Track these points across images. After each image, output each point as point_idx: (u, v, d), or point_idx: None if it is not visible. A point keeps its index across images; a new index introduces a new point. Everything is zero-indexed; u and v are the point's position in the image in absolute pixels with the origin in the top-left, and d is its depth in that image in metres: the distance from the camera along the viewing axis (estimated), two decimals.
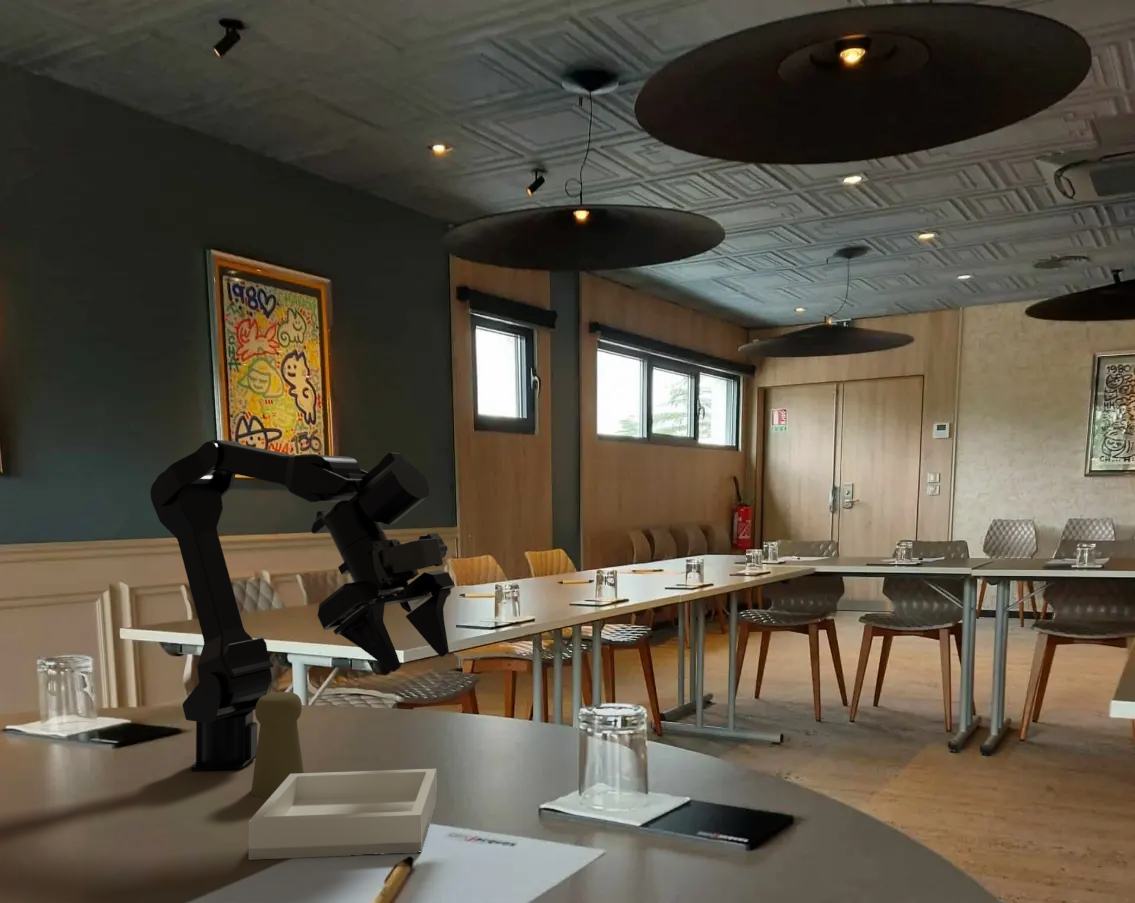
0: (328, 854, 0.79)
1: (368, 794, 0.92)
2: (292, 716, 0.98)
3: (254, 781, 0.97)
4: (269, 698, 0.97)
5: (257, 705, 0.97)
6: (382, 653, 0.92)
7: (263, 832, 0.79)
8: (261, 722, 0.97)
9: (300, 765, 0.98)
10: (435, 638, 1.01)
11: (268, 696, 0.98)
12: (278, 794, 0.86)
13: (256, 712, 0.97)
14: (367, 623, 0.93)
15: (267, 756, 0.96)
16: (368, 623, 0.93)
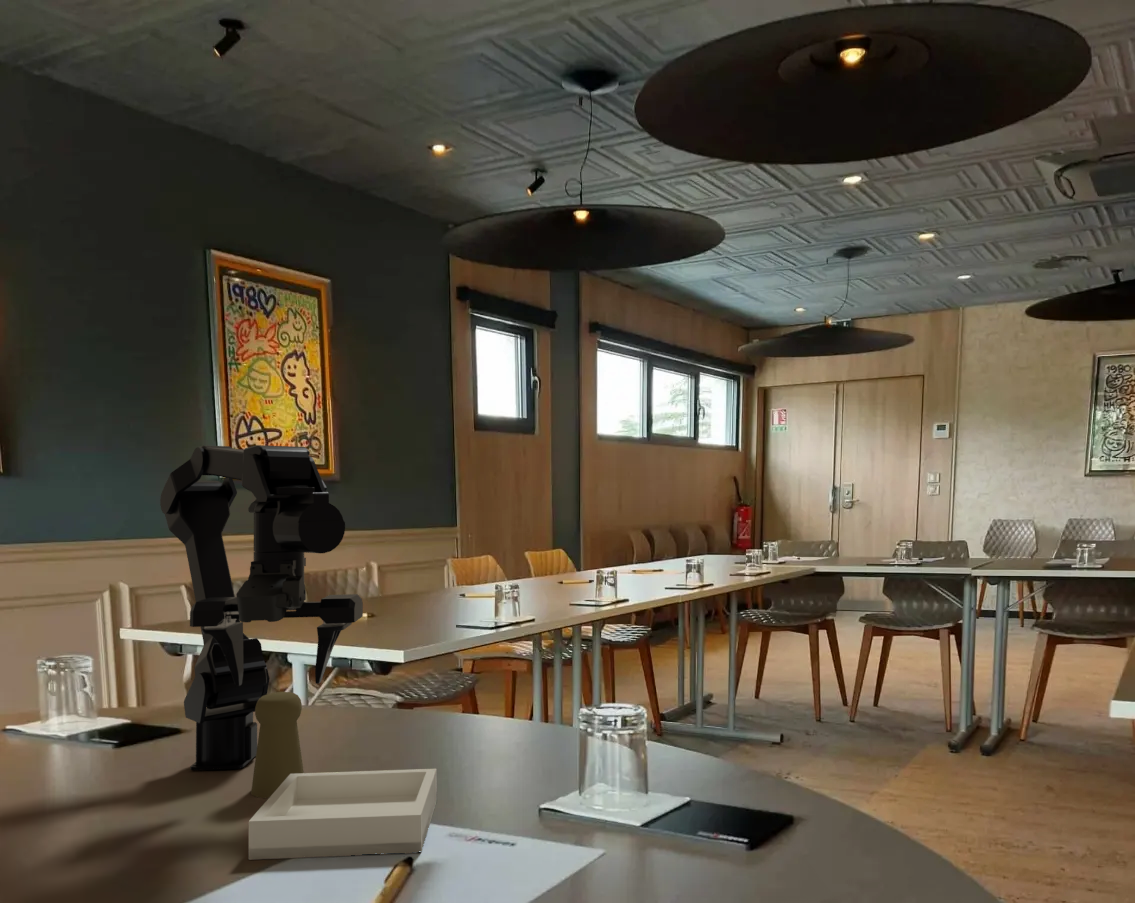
0: (328, 854, 0.79)
1: (368, 794, 0.92)
2: (292, 716, 0.98)
3: (254, 781, 0.97)
4: (269, 698, 0.97)
5: (257, 705, 0.97)
6: None
7: (263, 832, 0.79)
8: (261, 722, 0.97)
9: (300, 765, 0.98)
10: None
11: (268, 696, 0.98)
12: (278, 794, 0.86)
13: (256, 712, 0.97)
14: None
15: (267, 756, 0.96)
16: None
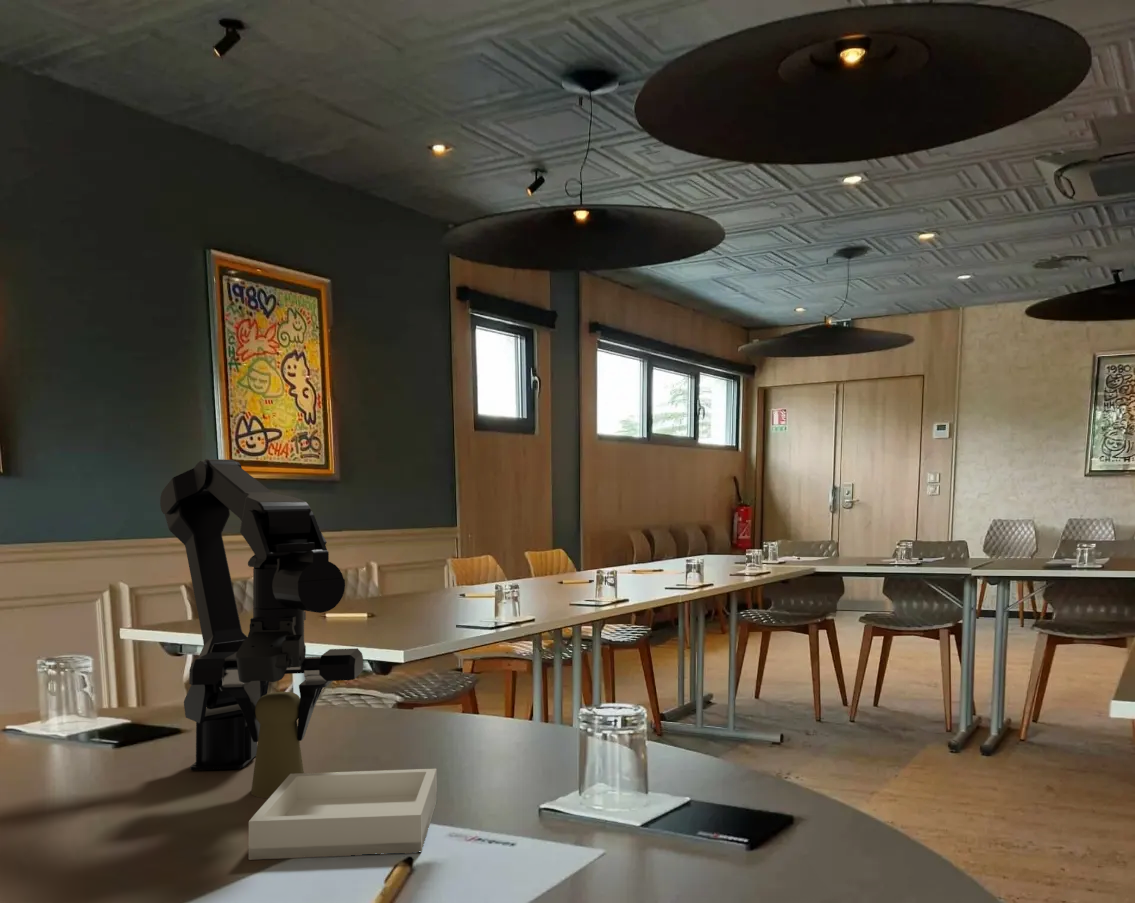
0: (328, 854, 0.79)
1: (368, 794, 0.92)
2: (292, 716, 0.98)
3: (254, 781, 0.97)
4: (269, 698, 0.97)
5: (257, 705, 0.97)
6: None
7: (263, 832, 0.79)
8: (261, 722, 0.97)
9: (300, 765, 0.98)
10: None
11: (268, 696, 0.98)
12: (278, 794, 0.86)
13: (256, 712, 0.97)
14: None
15: (267, 756, 0.96)
16: None
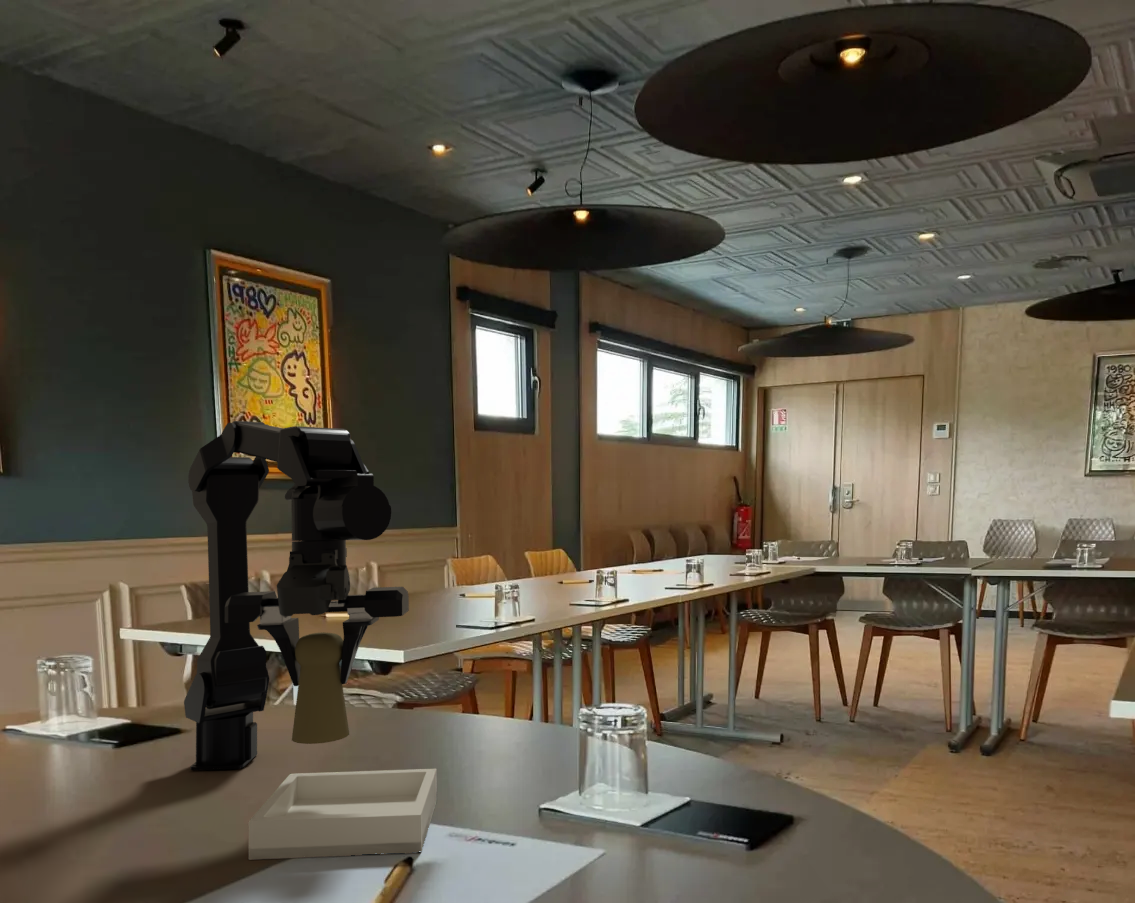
0: (328, 854, 0.79)
1: (368, 794, 0.92)
2: (335, 656, 0.91)
3: (295, 727, 0.90)
4: (310, 638, 0.90)
5: (297, 645, 0.90)
6: None
7: (263, 832, 0.79)
8: (302, 663, 0.90)
9: (344, 710, 0.91)
10: None
11: (309, 636, 0.91)
12: (278, 794, 0.86)
13: (296, 653, 0.90)
14: None
15: (309, 699, 0.89)
16: None
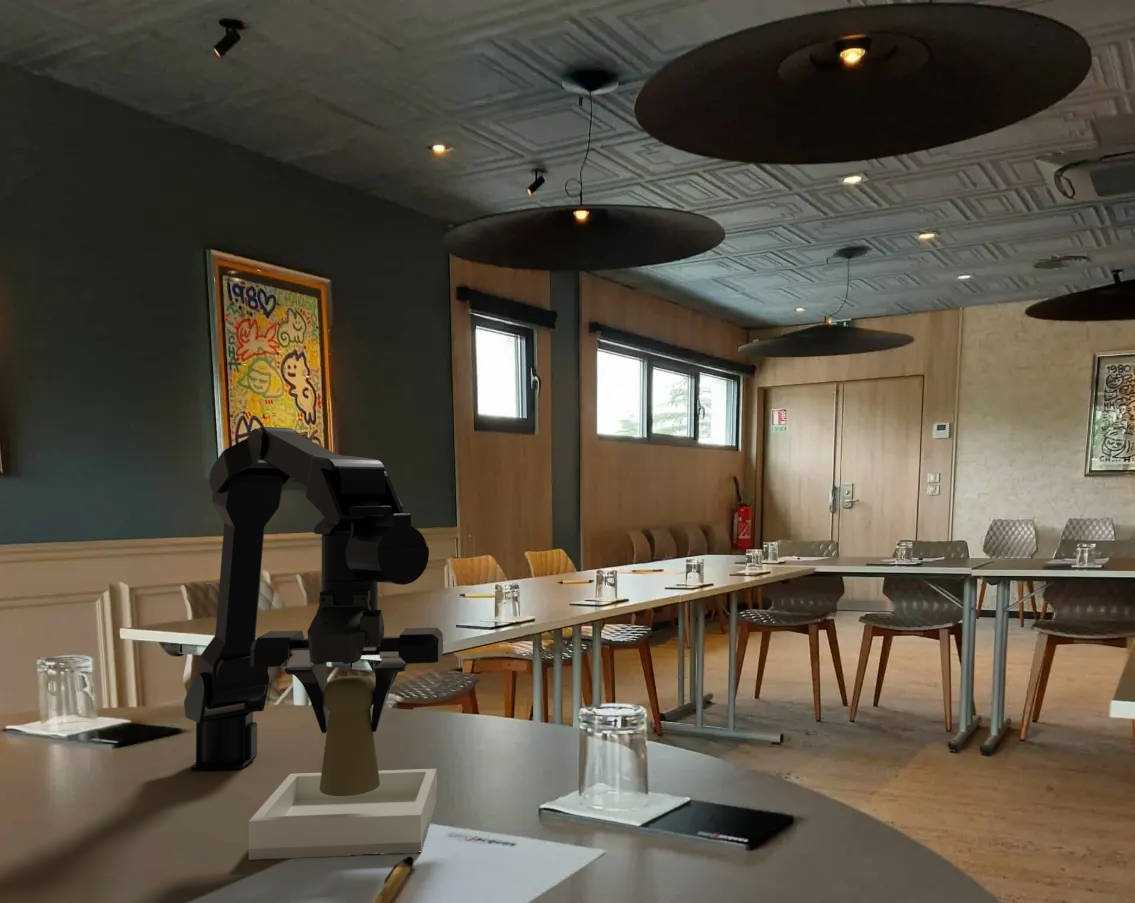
0: (328, 854, 0.79)
1: (368, 794, 0.92)
2: (366, 703, 0.85)
3: (323, 777, 0.85)
4: (340, 683, 0.85)
5: (327, 690, 0.85)
6: None
7: (263, 832, 0.79)
8: (331, 709, 0.85)
9: (375, 759, 0.86)
10: None
11: (339, 680, 0.86)
12: (278, 794, 0.86)
13: (325, 698, 0.85)
14: None
15: (339, 748, 0.84)
16: None
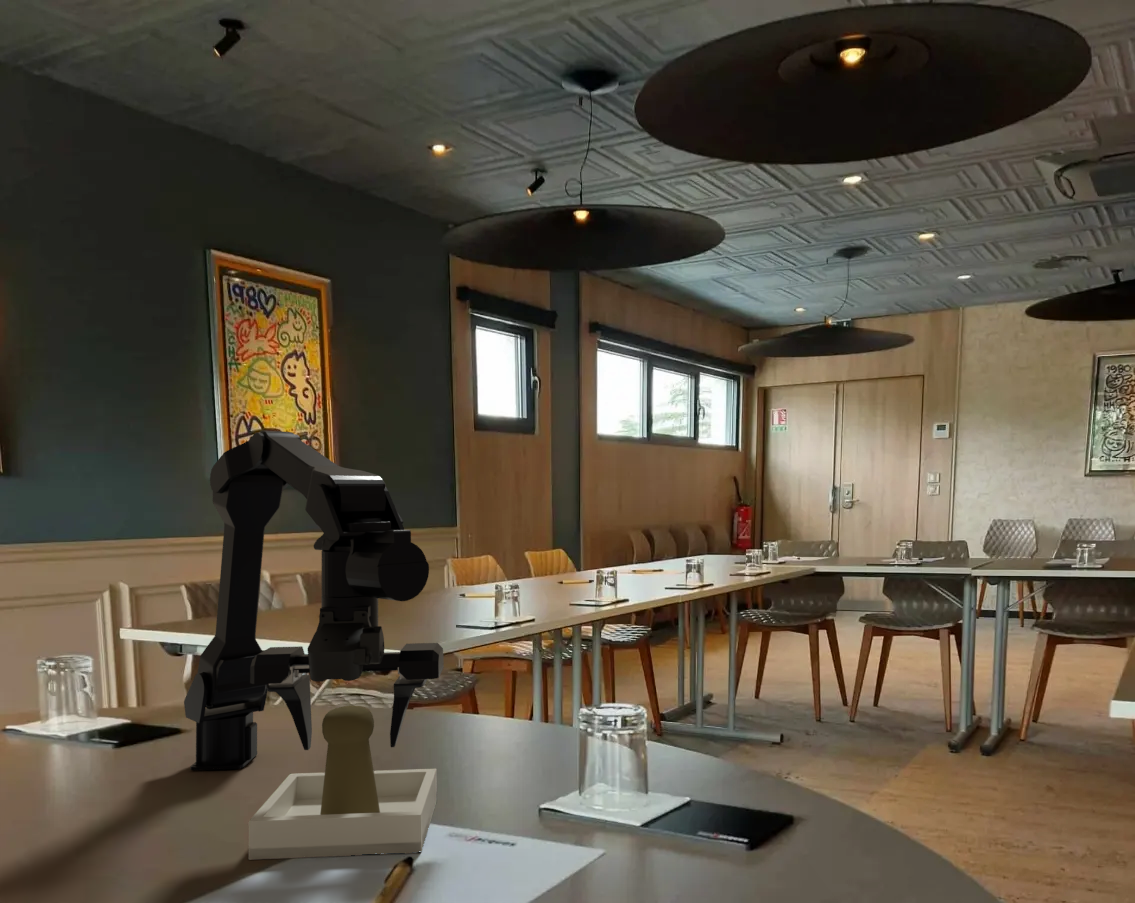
0: (328, 854, 0.79)
1: None
2: (365, 733, 0.85)
3: (323, 809, 0.84)
4: (338, 714, 0.85)
5: (325, 722, 0.85)
6: None
7: (263, 832, 0.79)
8: (330, 741, 0.85)
9: (374, 789, 0.86)
10: None
11: (336, 711, 0.86)
12: (278, 794, 0.86)
13: (324, 730, 0.85)
14: None
15: (338, 780, 0.84)
16: None
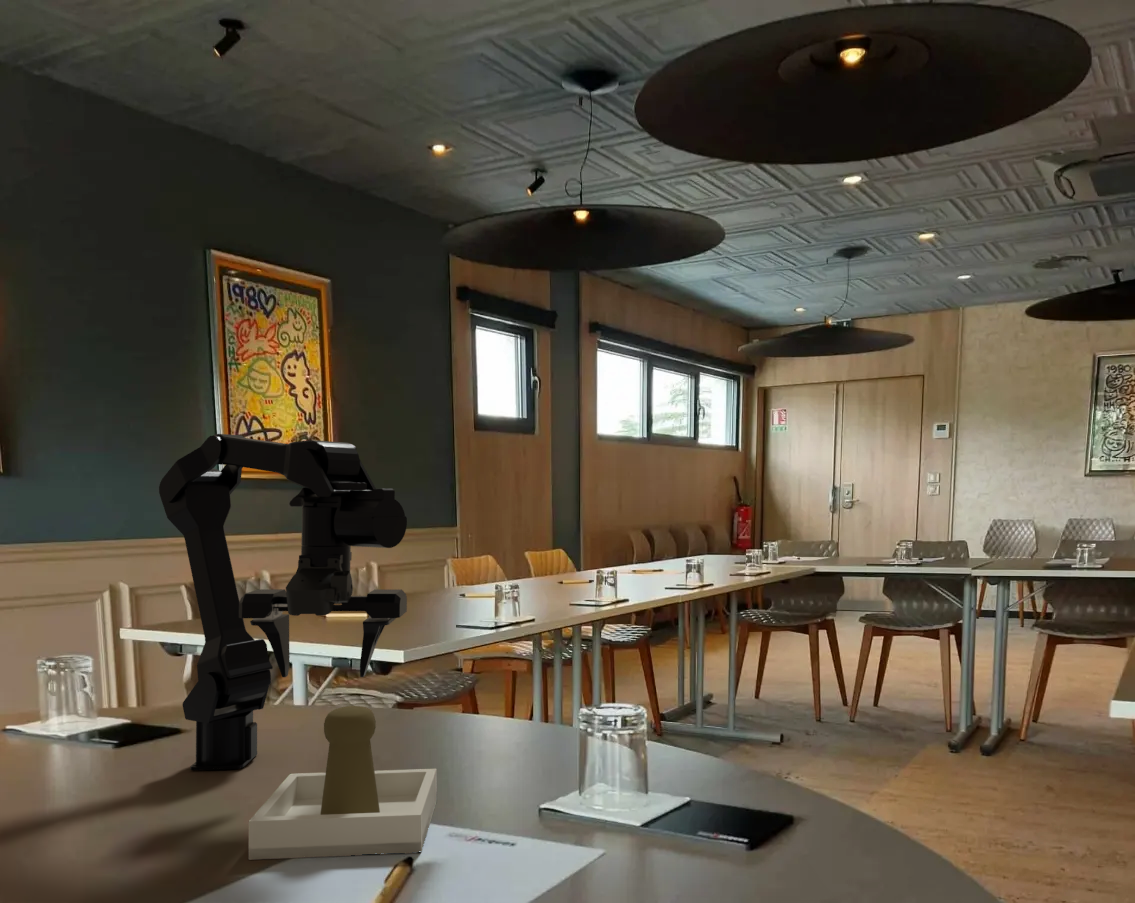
0: (328, 854, 0.79)
1: None
2: (366, 734, 0.85)
3: (324, 809, 0.84)
4: (340, 714, 0.85)
5: (327, 722, 0.85)
6: None
7: (263, 832, 0.79)
8: (332, 741, 0.85)
9: (375, 790, 0.86)
10: None
11: (339, 711, 0.86)
12: (278, 794, 0.86)
13: (325, 730, 0.85)
14: None
15: (339, 780, 0.84)
16: None
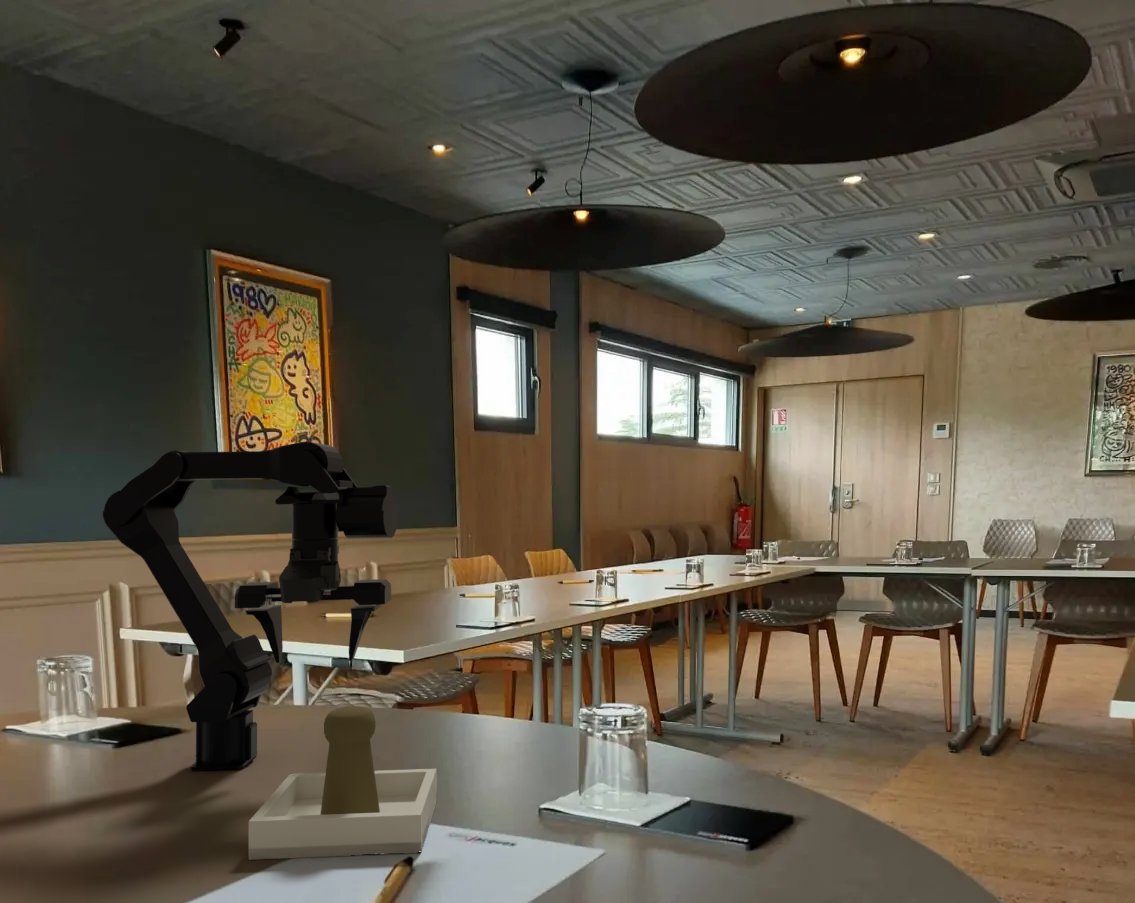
0: (328, 854, 0.79)
1: None
2: (366, 734, 0.85)
3: (324, 809, 0.84)
4: (340, 714, 0.85)
5: (327, 722, 0.85)
6: None
7: (263, 832, 0.79)
8: (331, 741, 0.85)
9: (375, 790, 0.86)
10: None
11: (339, 711, 0.86)
12: (278, 794, 0.86)
13: (325, 730, 0.85)
14: None
15: (339, 780, 0.84)
16: None
